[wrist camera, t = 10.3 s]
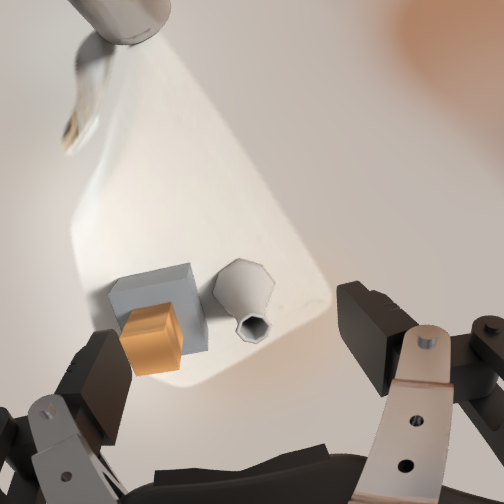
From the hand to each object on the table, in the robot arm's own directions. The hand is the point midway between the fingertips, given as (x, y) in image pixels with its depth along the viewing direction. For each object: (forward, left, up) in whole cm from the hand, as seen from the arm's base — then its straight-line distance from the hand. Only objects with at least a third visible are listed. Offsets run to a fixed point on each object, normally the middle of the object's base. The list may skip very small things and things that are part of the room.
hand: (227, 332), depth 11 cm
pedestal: (+10, -9, -26) cm, 29 cm away
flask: (+10, +1, -26) cm, 28 cm away
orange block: (+10, -9, -21) cm, 25 cm away
